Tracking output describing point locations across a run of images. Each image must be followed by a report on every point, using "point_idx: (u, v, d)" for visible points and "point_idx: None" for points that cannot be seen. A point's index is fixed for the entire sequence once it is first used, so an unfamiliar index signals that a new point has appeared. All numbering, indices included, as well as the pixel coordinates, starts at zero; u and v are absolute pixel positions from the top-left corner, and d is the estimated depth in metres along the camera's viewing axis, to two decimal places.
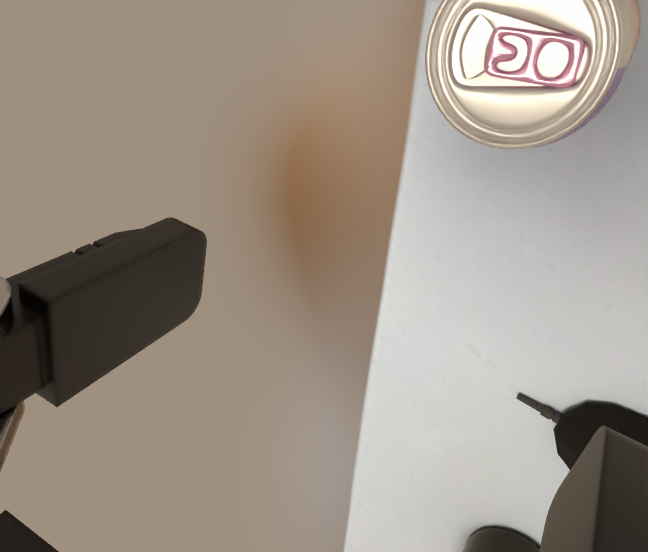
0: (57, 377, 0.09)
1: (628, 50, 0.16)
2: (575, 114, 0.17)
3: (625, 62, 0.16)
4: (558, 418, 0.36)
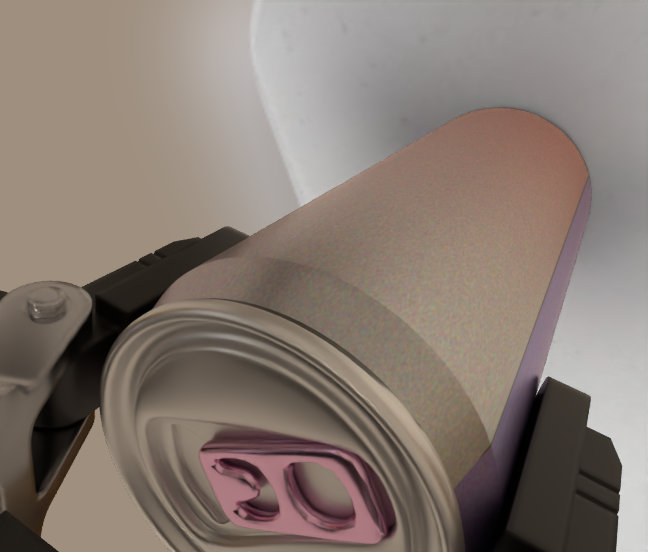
0: None
1: (472, 418, 0.06)
2: None
3: (482, 441, 0.07)
4: None
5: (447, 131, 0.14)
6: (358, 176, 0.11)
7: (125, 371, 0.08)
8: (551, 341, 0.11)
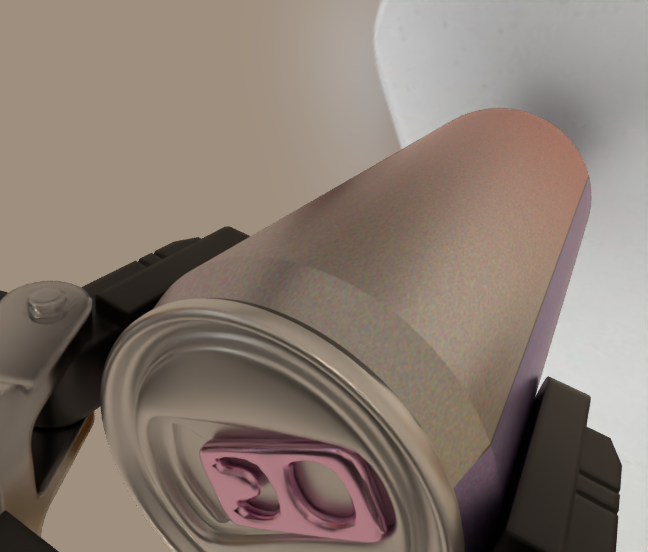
0: None
1: (472, 417, 0.06)
2: None
3: (481, 440, 0.07)
4: None
5: (447, 131, 0.15)
6: (358, 176, 0.11)
7: (126, 371, 0.08)
8: (551, 341, 0.11)
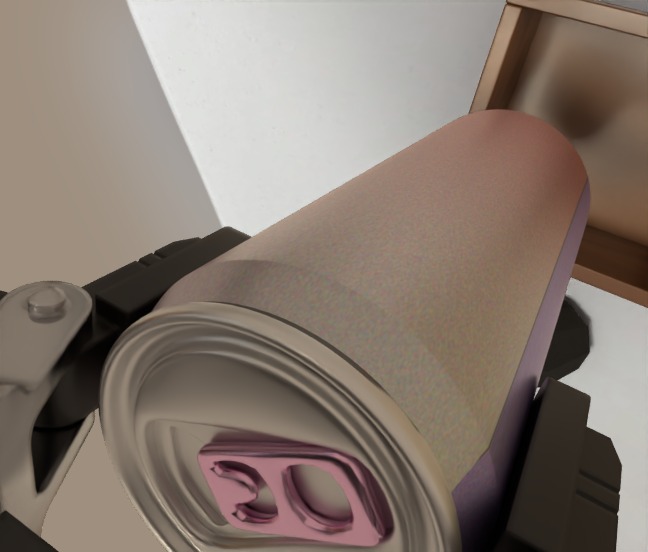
0: None
1: (469, 421, 0.06)
2: None
3: (479, 444, 0.07)
4: None
5: (446, 133, 0.15)
6: (357, 178, 0.11)
7: (124, 374, 0.08)
8: None
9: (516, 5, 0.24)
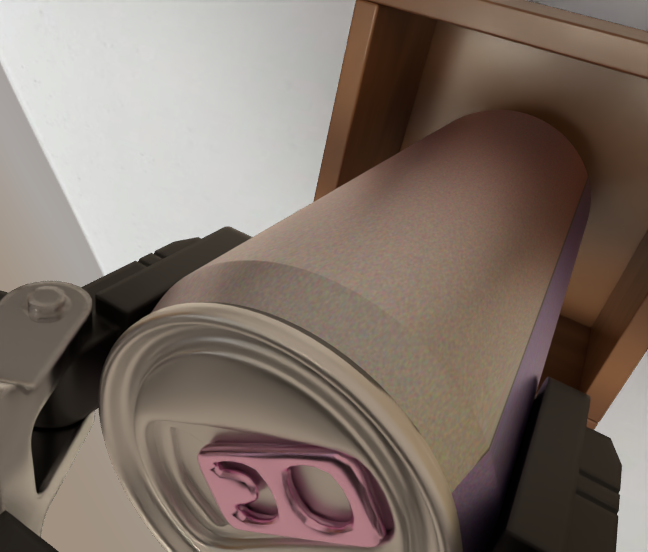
0: None
1: (470, 421, 0.06)
2: None
3: (480, 444, 0.07)
4: None
5: (446, 133, 0.15)
6: (357, 179, 0.11)
7: (124, 374, 0.08)
8: (550, 343, 0.11)
9: (370, 1, 0.16)
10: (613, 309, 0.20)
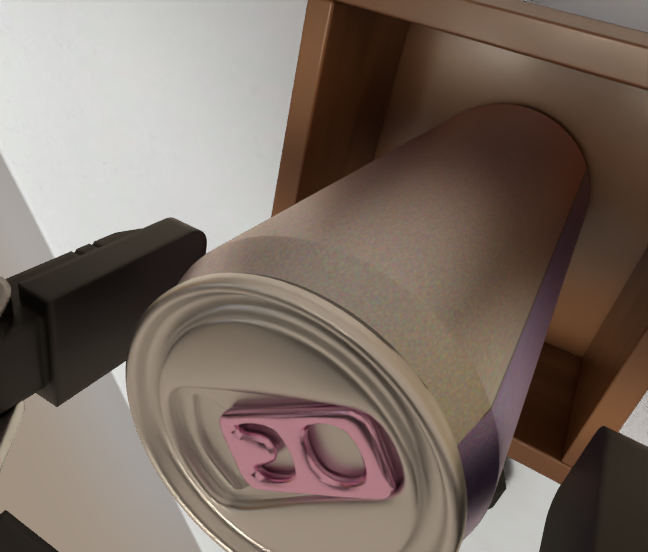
0: (58, 376, 0.09)
1: (474, 381, 0.07)
2: (437, 539, 0.07)
3: (482, 403, 0.07)
4: None
5: (450, 125, 0.15)
6: (365, 166, 0.12)
7: (150, 344, 0.09)
8: (549, 323, 0.11)
9: None
10: (605, 342, 0.18)
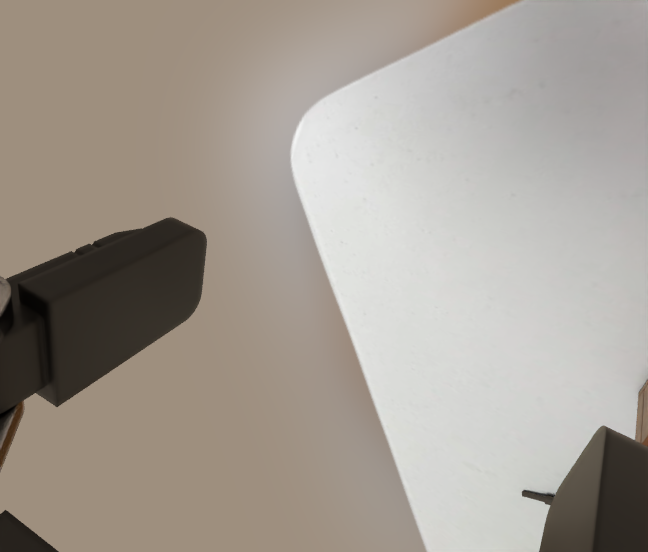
0: (57, 376, 0.09)
1: None
2: None
3: None
4: None
5: None
6: None
7: None
8: None
9: None
10: None
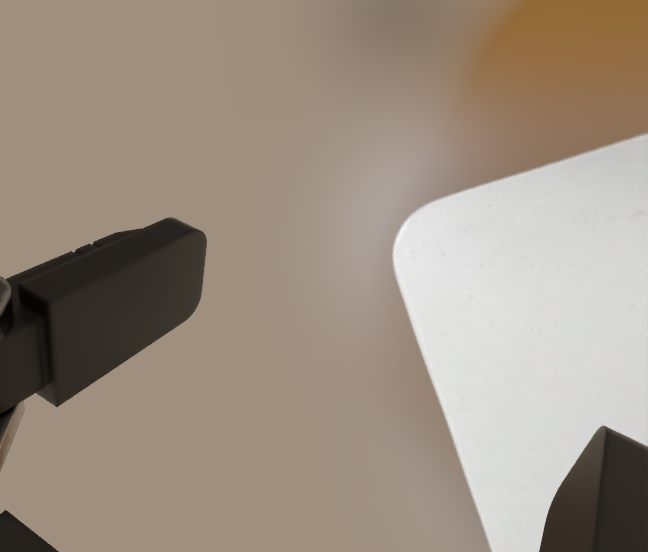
0: (57, 377, 0.09)
1: None
2: None
3: None
4: None
5: None
6: None
7: None
8: None
9: None
10: None
